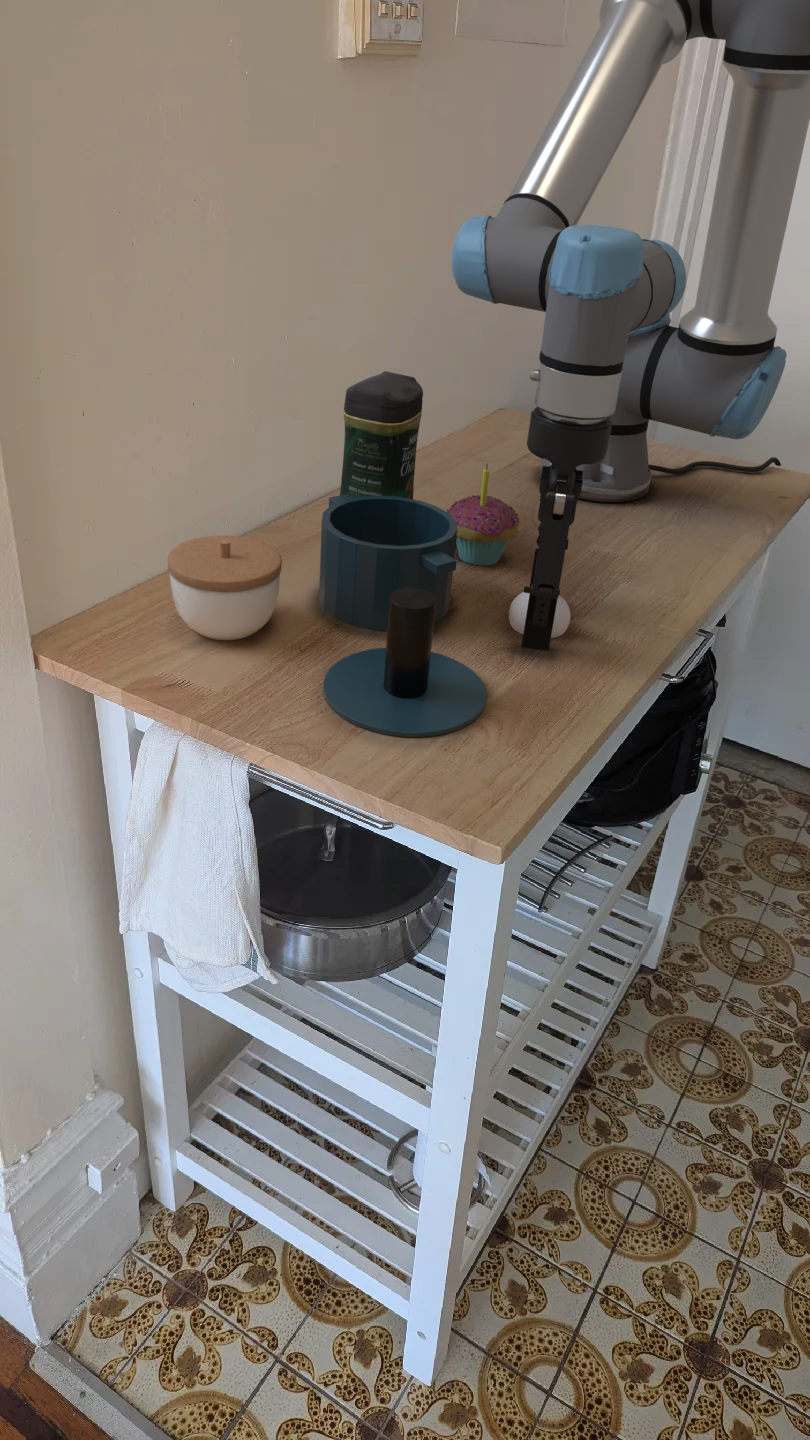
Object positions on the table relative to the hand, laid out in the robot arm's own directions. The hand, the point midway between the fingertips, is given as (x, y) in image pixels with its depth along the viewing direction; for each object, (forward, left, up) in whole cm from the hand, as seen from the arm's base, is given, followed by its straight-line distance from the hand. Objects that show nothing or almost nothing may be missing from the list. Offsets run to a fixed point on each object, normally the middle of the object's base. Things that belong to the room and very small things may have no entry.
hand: (536, 627), depth 110 cm
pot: (+11, -12, 0) cm, 16 cm away
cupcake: (-6, -17, 0) cm, 18 cm away
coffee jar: (+1, -28, 0) cm, 28 cm away
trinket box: (+28, -15, 0) cm, 32 cm away
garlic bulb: (0, 0, 0) cm, 0 cm away
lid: (+20, +4, 0) cm, 20 cm away
